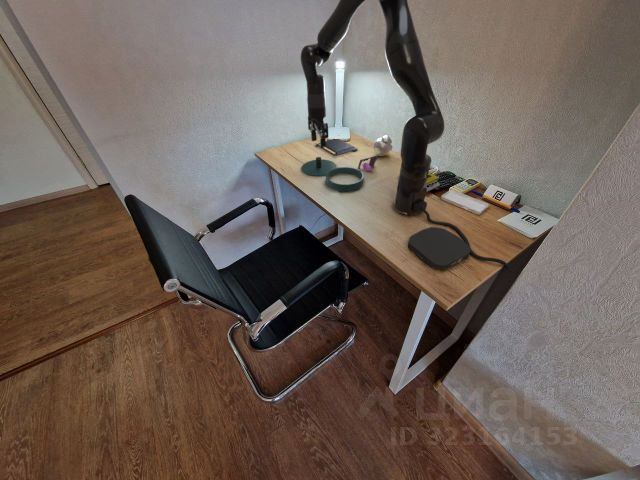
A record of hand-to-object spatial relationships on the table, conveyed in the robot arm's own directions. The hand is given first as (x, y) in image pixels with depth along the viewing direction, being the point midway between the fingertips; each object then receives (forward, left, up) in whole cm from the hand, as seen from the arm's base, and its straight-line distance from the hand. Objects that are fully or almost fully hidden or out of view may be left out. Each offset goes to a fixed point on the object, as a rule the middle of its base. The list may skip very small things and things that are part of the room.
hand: (318, 143), depth 118 cm
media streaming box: (-69, -4, -13) cm, 70 cm away
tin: (-18, -3, -12) cm, 22 cm away
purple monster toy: (-15, -18, -13) cm, 26 cm away
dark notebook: (+17, -20, -13) cm, 29 cm away
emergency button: (-35, -30, -13) cm, 47 cm away
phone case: (-56, -32, -13) cm, 65 cm away
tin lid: (0, 0, -12) cm, 12 cm away
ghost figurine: (-5, -34, -13) cm, 36 cm away
